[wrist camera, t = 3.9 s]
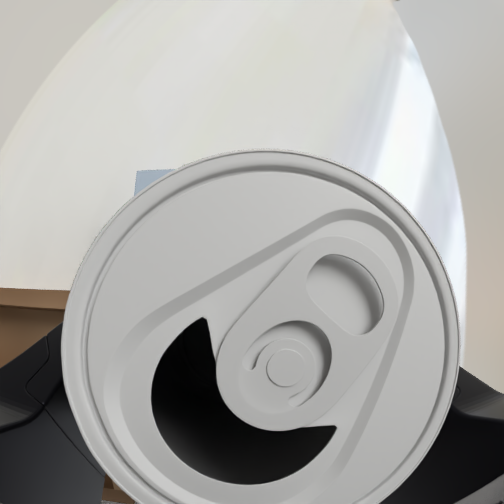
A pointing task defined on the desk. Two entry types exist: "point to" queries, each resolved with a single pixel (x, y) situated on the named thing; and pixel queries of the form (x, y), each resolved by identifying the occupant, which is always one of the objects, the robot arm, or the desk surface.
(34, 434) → the robot arm
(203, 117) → the desk surface
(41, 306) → the tray
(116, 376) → the beverage can
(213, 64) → the desk surface
